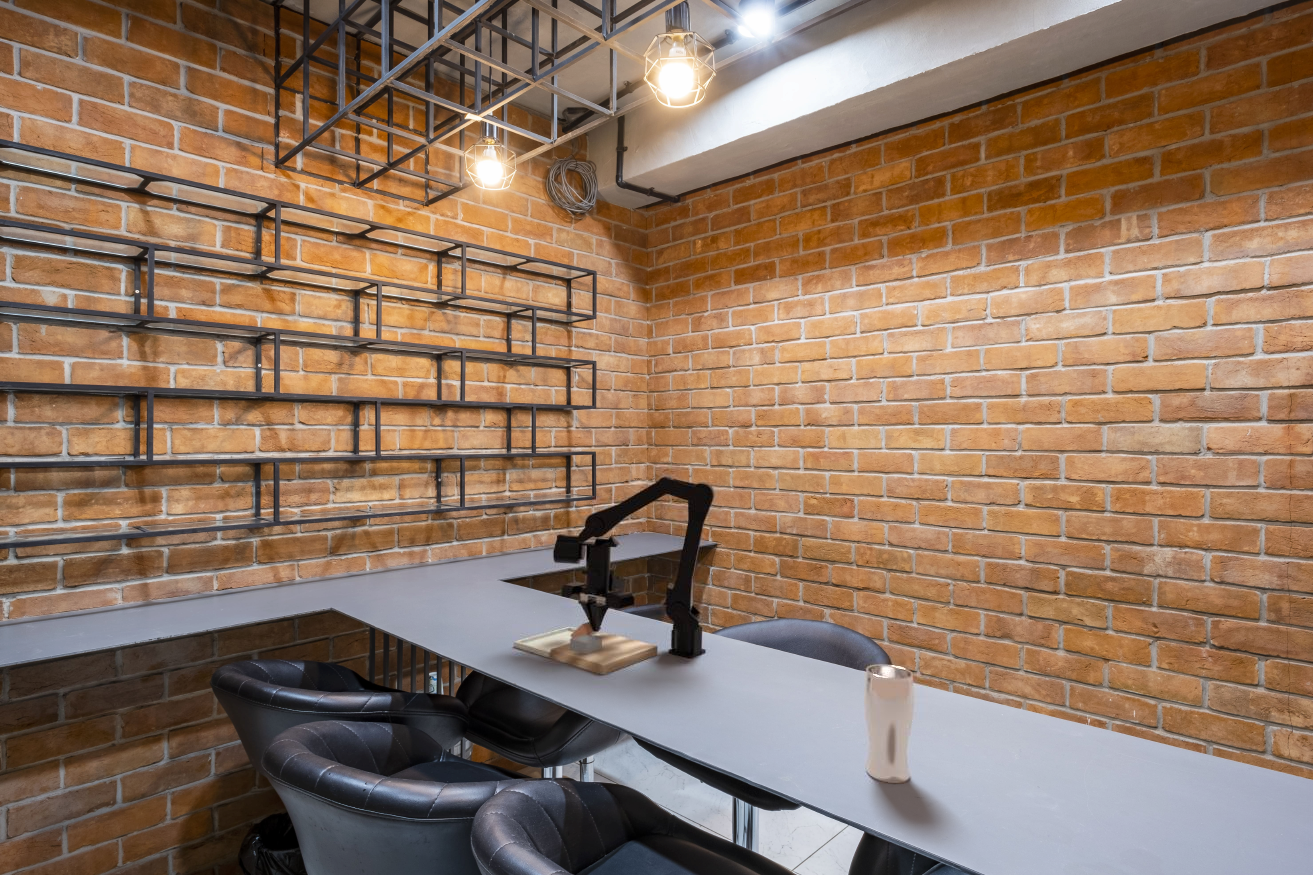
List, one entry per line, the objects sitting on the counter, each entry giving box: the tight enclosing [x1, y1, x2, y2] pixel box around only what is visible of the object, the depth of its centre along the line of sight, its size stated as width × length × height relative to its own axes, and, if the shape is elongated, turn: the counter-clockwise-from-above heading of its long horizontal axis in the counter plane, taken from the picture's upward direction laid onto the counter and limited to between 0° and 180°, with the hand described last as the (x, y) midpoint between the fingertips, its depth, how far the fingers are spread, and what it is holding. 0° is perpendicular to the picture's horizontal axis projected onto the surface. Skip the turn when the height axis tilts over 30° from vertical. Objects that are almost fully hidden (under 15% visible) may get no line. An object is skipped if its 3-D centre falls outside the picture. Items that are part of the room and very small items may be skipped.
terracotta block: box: [570, 621, 602, 638], centre depth 159 cm, size 5×5×2 cm
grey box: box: [570, 634, 602, 655], centre depth 148 cm, size 5×5×2 cm
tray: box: [513, 626, 601, 659], centre depth 159 cm, size 12×18×1 cm, turn 142°
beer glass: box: [863, 663, 915, 784], centre depth 99 cm, size 7×7×15 cm
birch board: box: [550, 632, 658, 676], centre depth 150 cm, size 16×18×2 cm
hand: (596, 631), depth 157 cm, fingers closed
